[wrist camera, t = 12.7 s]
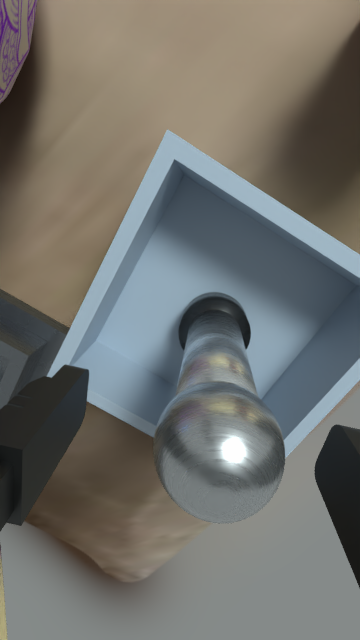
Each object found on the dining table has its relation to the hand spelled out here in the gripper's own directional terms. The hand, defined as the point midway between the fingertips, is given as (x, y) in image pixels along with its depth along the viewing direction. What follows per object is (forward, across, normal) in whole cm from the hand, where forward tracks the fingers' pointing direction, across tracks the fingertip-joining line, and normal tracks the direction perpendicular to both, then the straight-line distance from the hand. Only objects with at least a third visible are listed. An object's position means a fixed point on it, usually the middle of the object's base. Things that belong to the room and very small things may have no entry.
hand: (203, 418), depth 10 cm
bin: (+12, -1, 0) cm, 12 cm away
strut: (+11, -1, 0) cm, 11 cm away
